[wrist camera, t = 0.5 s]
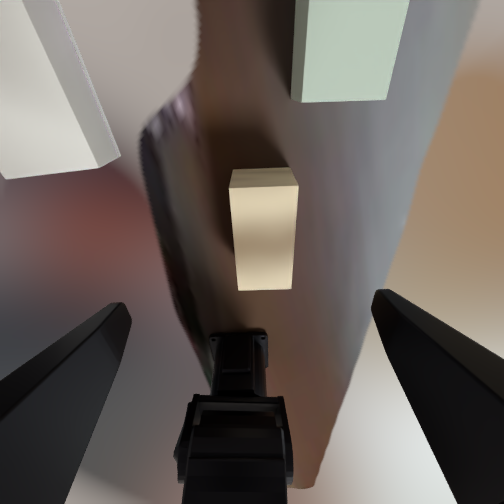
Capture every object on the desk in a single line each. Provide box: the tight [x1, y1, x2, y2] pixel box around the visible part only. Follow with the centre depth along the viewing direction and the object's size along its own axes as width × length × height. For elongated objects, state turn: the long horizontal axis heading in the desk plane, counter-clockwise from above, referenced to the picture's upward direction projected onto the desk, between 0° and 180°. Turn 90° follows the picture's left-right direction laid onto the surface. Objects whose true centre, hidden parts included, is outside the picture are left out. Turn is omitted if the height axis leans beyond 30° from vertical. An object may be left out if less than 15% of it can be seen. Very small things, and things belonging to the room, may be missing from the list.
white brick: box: [0, 0, 121, 179], centre depth 13 cm, size 10×6×3 cm, turn 7°
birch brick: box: [229, 167, 298, 290], centre depth 18 cm, size 8×4×4 cm, turn 2°
